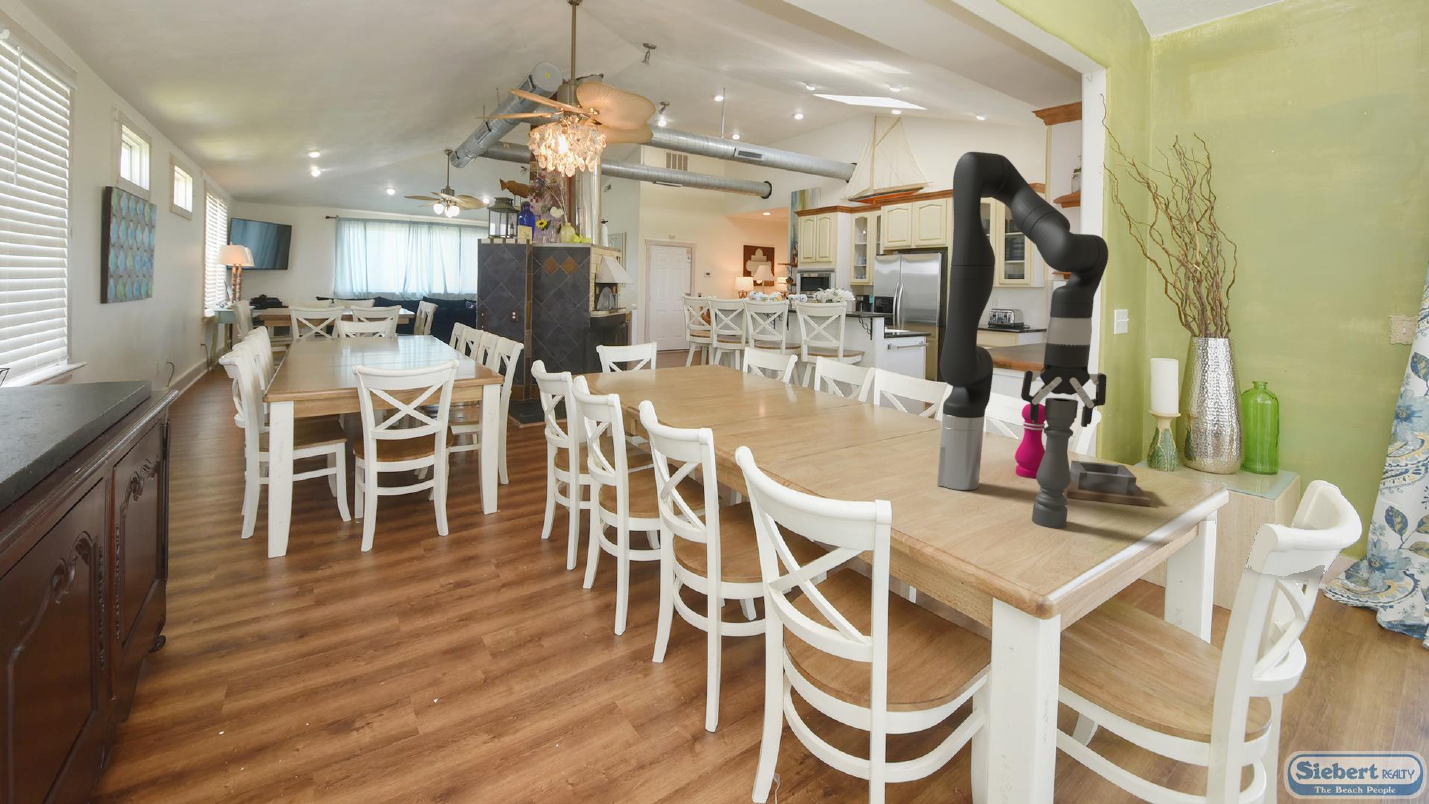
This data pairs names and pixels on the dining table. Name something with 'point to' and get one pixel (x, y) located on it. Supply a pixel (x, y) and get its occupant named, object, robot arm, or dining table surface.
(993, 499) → the dining table surface
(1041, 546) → the dining table surface
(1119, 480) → the socket board
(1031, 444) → the pepper mill
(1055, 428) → the candle holder
